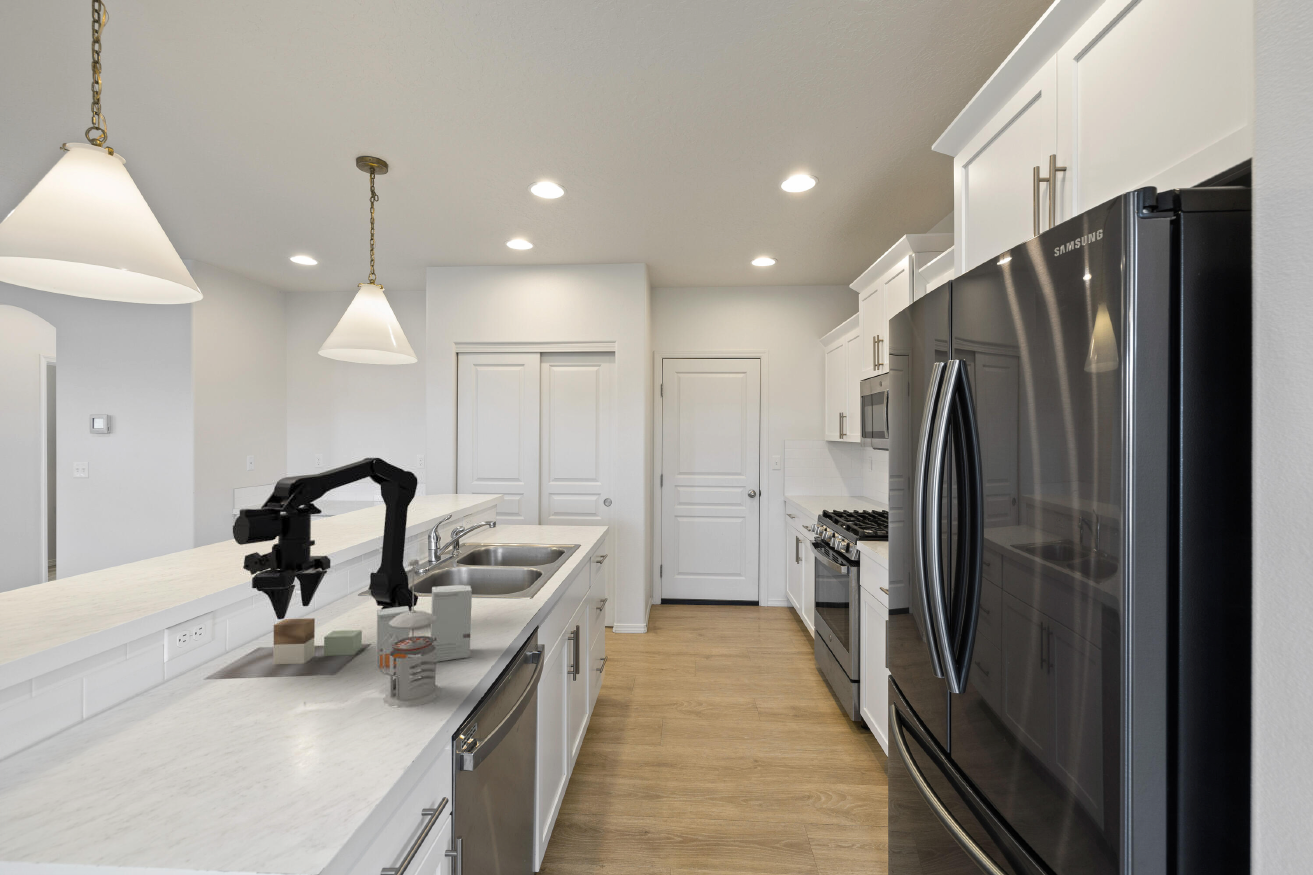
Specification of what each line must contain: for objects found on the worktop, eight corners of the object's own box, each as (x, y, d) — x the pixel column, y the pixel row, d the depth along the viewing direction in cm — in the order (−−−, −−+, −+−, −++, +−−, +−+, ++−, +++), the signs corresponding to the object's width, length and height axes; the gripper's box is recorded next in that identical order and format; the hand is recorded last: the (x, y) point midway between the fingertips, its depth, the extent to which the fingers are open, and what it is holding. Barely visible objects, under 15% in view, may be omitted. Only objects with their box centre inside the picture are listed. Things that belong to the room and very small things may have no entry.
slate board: (371, 649, 126) (371, 643, 126) (334, 680, 109) (334, 674, 109) (258, 652, 124) (258, 647, 124) (203, 685, 107) (203, 679, 107)
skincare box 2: (430, 663, 118) (430, 592, 118) (429, 653, 123) (430, 586, 124) (472, 657, 121) (472, 588, 121) (469, 648, 127) (469, 582, 127)
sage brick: (361, 648, 124) (361, 629, 124) (353, 654, 120) (353, 635, 120) (333, 648, 123) (333, 630, 123) (324, 655, 119) (324, 636, 119)
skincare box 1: (376, 674, 112) (376, 614, 112) (376, 667, 116) (376, 609, 116) (409, 668, 115) (409, 610, 115) (408, 661, 119) (408, 605, 119)
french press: (452, 690, 105) (453, 556, 105) (398, 716, 95) (399, 568, 95) (417, 679, 110) (417, 552, 110) (361, 703, 99) (362, 563, 100)
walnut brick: (314, 637, 119) (314, 618, 119) (304, 643, 115) (304, 624, 115) (284, 637, 118) (285, 619, 119) (273, 644, 114) (273, 624, 115)
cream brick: (314, 655, 119) (314, 637, 119) (304, 663, 115) (304, 643, 115) (284, 656, 118) (284, 638, 118) (273, 664, 114) (273, 644, 114)
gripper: (280, 531, 126) (279, 601, 125) (223, 545, 107) (221, 627, 107) (332, 530, 127) (331, 599, 126) (284, 544, 108) (283, 626, 108)
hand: (293, 612), depth 117 cm, fingers open, 9 cm apart
